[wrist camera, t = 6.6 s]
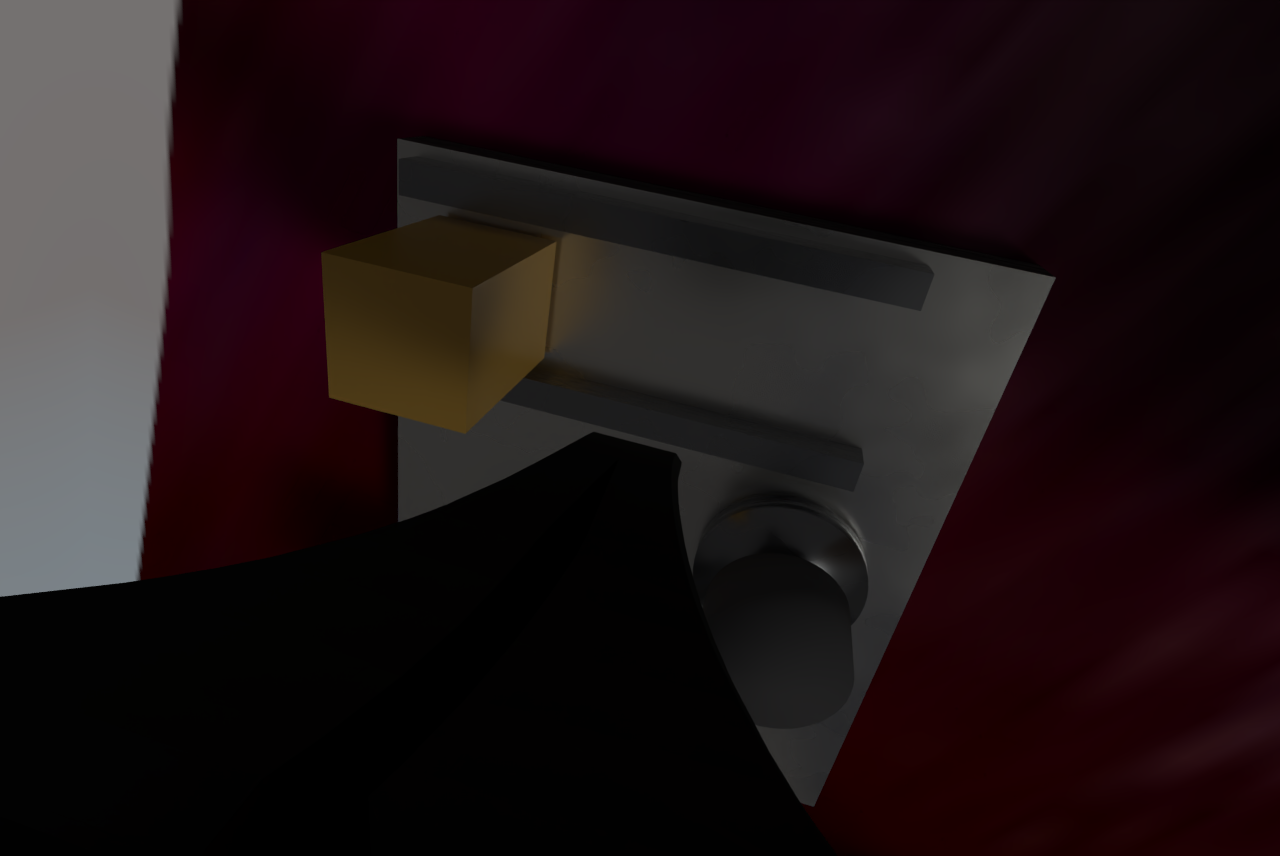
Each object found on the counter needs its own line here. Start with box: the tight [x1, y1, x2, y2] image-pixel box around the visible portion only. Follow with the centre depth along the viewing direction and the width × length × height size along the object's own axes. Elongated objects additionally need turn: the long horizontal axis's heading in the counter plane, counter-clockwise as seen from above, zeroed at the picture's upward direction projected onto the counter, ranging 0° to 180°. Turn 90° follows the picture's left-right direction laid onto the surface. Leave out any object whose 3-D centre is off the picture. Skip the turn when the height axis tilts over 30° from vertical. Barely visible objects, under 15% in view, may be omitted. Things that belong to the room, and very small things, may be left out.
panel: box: [397, 136, 1056, 807], centre depth 18 cm, size 15×18×6 cm
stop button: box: [703, 553, 854, 729], centre depth 16 cm, size 4×4×2 cm
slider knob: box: [321, 215, 557, 434], centre depth 15 cm, size 3×3×4 cm
